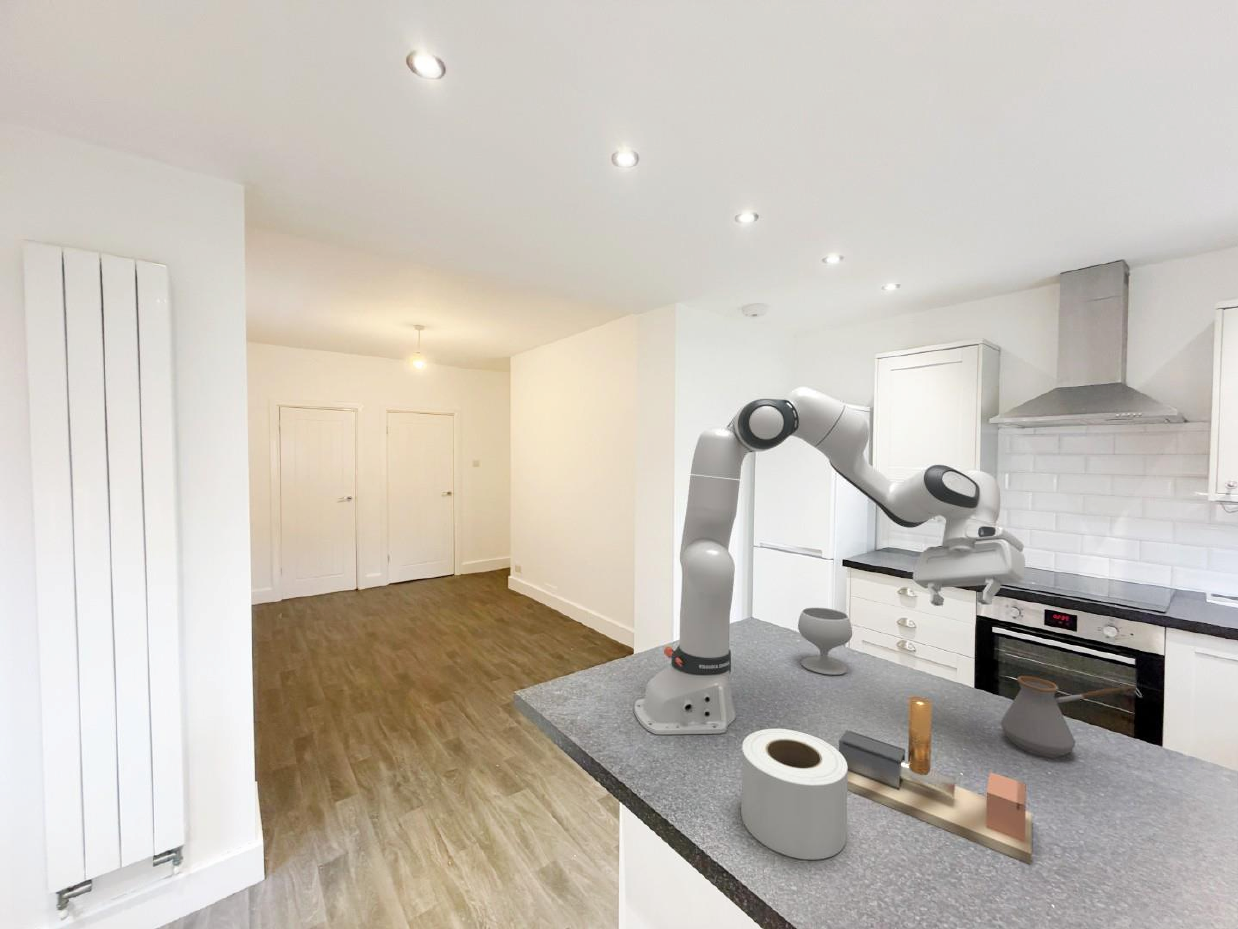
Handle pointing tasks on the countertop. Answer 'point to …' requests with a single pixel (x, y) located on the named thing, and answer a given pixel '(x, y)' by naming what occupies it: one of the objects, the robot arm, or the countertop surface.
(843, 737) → the sleeve
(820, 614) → the chalice
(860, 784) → the board
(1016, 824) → the socket
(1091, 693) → the coffee pot
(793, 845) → the toilet paper roll
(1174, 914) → the countertop surface
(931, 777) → the tube
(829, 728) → the countertop surface
